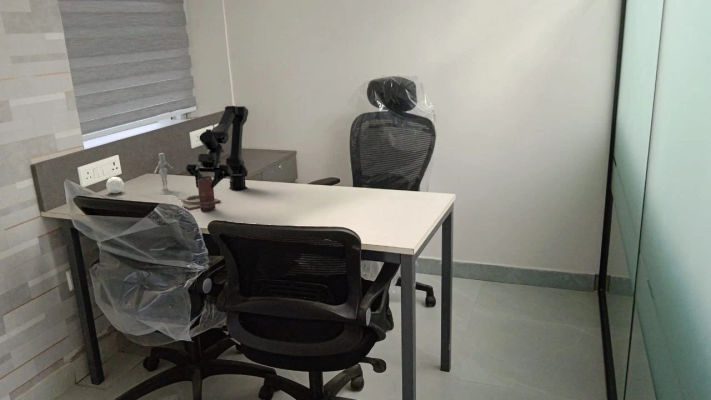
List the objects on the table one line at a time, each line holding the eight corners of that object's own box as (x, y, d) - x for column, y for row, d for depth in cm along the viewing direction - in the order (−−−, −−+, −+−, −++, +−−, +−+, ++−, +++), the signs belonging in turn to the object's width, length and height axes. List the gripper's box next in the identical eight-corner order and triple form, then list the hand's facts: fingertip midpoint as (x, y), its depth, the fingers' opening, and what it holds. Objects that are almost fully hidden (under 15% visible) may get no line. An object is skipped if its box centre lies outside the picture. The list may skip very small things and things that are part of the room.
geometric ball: (119, 199, 265) (116, 188, 258) (103, 192, 265) (101, 182, 259) (128, 187, 269) (126, 177, 263) (113, 181, 270) (110, 170, 264)
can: (212, 212, 233) (208, 179, 229) (198, 211, 234) (194, 179, 230) (218, 208, 238) (215, 176, 234) (204, 207, 240) (201, 175, 236)
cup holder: (203, 195, 257) (202, 191, 256) (220, 202, 247) (220, 197, 246) (172, 202, 247) (172, 198, 247) (189, 209, 237) (188, 205, 236)
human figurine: (172, 186, 273) (167, 150, 268) (177, 187, 272) (173, 150, 266) (153, 193, 263) (148, 155, 258) (159, 193, 261) (154, 156, 256)
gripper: (185, 144, 234) (175, 177, 227) (227, 145, 230) (218, 178, 223) (196, 159, 244) (186, 190, 236) (236, 160, 240) (228, 192, 233)
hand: (204, 187), depth 232 cm, fingers closed on can, 6 cm apart
